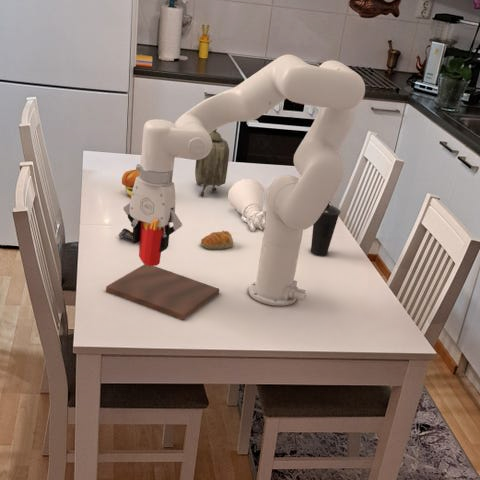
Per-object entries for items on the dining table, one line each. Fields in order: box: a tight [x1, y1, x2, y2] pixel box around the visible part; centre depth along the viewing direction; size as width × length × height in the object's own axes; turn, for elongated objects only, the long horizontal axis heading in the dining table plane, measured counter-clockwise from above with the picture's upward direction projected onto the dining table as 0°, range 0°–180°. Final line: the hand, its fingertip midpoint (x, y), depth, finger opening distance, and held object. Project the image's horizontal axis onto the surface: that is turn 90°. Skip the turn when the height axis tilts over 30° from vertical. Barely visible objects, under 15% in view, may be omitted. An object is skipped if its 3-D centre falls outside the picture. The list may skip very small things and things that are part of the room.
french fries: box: [138, 219, 163, 267], centre depth 192 cm, size 9×4×13 cm, turn 22°
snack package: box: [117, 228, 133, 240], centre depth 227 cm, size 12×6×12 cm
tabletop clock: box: [194, 128, 230, 197], centre depth 265 cm, size 14×9×25 cm, turn 6°
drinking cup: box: [310, 201, 341, 257], centre depth 232 cm, size 8×8×20 cm
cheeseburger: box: [121, 169, 140, 198], centre depth 257 cm, size 10×11×10 cm
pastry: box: [200, 230, 234, 250], centre depth 230 cm, size 9×7×4 cm
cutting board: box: [105, 263, 220, 321], centre depth 200 cm, size 22×18×2 cm
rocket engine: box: [227, 178, 266, 232], centre depth 250 cm, size 12×12×18 cm
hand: (149, 245), depth 193 cm, fingers closed on french fries, 6 cm apart
